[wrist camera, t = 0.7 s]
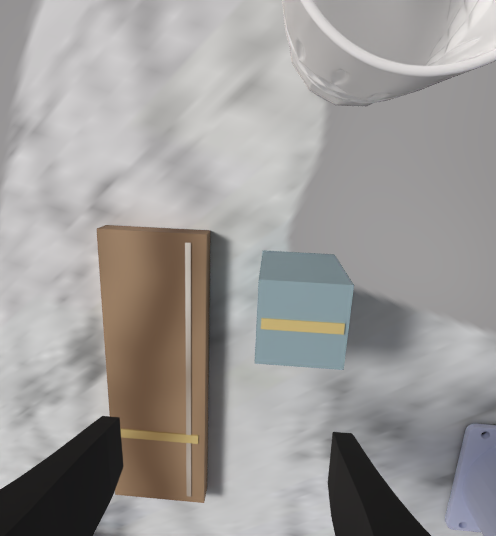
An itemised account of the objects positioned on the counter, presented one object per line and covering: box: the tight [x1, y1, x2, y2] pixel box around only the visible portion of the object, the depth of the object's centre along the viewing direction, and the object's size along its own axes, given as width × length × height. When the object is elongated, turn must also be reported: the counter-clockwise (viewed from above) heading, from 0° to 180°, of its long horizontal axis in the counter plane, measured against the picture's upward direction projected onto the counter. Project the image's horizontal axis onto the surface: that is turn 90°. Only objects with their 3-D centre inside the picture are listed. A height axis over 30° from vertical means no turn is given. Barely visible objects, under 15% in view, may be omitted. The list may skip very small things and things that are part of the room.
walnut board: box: [97, 225, 210, 503], centre depth 23 cm, size 6×18×1 cm, turn 178°
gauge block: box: [255, 251, 354, 370], centre depth 19 cm, size 4×4×6 cm
